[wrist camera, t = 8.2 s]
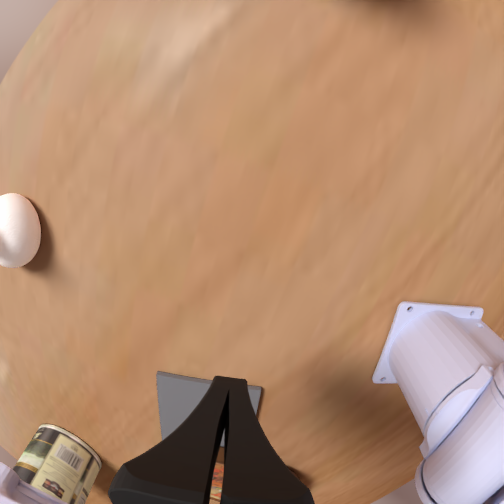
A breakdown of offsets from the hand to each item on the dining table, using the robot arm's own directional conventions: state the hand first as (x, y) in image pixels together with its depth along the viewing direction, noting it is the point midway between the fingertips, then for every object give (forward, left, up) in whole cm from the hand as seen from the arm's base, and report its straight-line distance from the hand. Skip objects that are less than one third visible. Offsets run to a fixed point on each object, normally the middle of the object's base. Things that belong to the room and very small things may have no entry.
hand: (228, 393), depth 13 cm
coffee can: (+21, +28, -11) cm, 37 cm away
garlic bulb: (+20, -3, -11) cm, 23 cm away
